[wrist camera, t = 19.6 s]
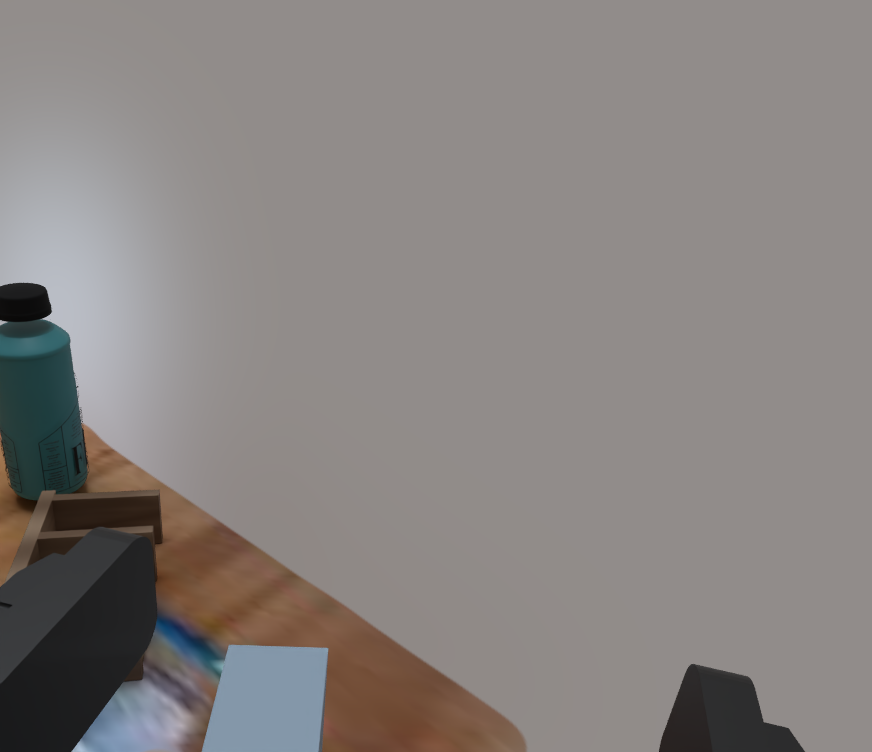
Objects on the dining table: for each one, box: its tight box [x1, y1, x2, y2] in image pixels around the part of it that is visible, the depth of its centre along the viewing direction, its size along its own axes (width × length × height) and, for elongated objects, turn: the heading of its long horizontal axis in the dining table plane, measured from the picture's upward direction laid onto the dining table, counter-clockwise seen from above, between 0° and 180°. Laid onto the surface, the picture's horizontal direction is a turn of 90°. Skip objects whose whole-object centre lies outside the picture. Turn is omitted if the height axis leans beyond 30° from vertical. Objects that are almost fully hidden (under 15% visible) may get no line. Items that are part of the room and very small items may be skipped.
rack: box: [5, 490, 163, 681], centre depth 54 cm, size 16×9×5 cm, turn 14°
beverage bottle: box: [0, 283, 89, 500], centre depth 61 cm, size 6×7×20 cm
